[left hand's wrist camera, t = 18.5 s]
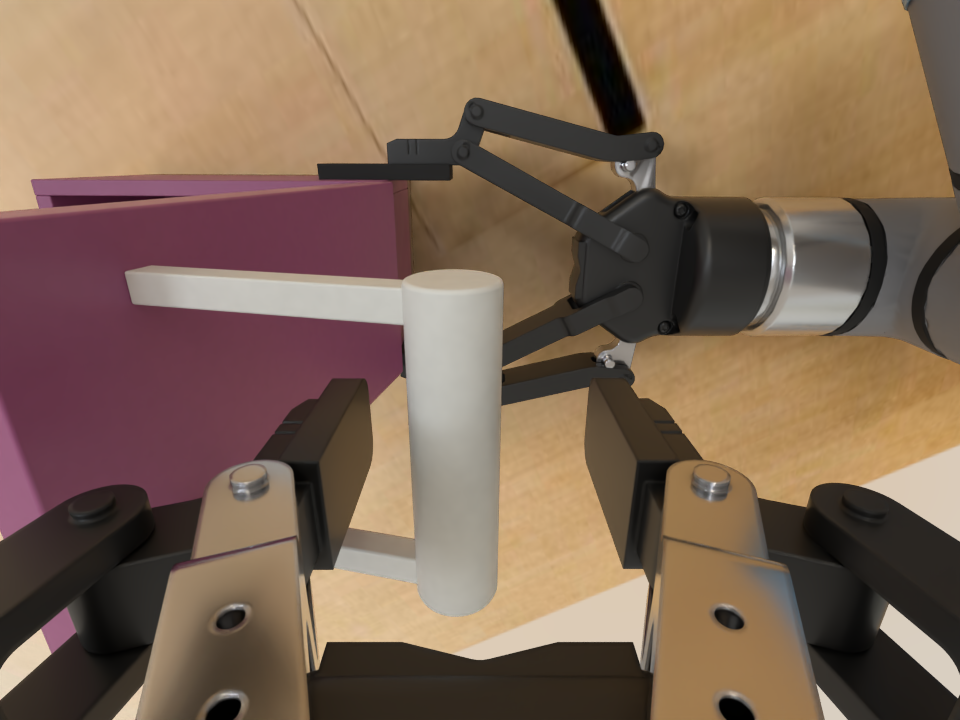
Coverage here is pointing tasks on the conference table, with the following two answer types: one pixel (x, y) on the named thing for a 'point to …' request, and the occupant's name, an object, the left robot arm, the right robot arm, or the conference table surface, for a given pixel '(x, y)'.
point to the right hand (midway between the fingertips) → (335, 267)
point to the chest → (184, 185)
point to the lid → (245, 362)
